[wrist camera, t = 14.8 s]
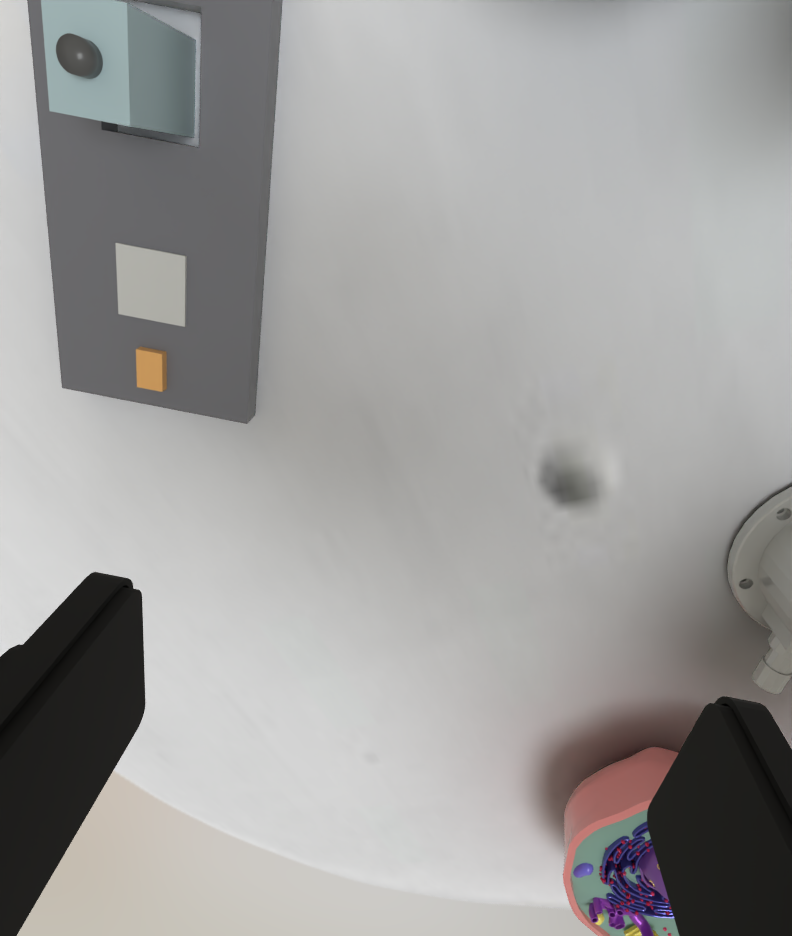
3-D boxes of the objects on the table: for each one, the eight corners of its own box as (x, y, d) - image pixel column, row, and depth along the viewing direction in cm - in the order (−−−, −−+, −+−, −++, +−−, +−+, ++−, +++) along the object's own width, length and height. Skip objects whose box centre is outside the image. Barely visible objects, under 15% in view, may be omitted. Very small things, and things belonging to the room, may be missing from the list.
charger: (194, 137, 32) (118, 124, 25) (129, 125, 32) (34, 108, 25) (195, 40, 30) (114, -5, 23) (126, 26, 30) (23, -22, 23)
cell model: (539, 850, 56) (558, 999, 46) (555, 695, 47) (582, 836, 37) (728, 863, 54) (791, 1021, 44) (780, 704, 45) (874, 854, 35)
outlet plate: (254, 414, 39) (244, 427, 37) (76, 380, 39) (56, 390, 37) (285, -49, 28) (272, -66, 26) (40, -95, 28) (8, -115, 26)
